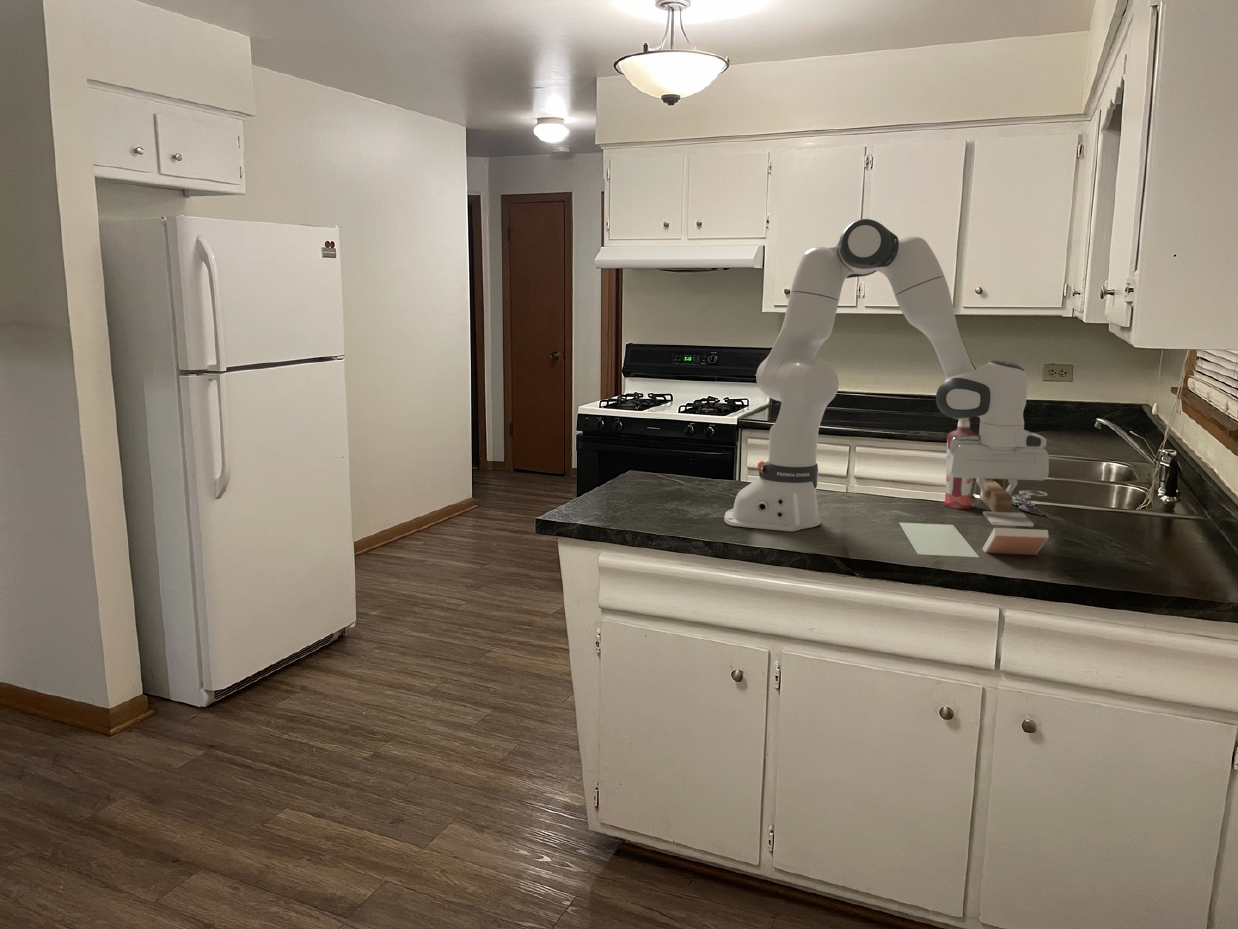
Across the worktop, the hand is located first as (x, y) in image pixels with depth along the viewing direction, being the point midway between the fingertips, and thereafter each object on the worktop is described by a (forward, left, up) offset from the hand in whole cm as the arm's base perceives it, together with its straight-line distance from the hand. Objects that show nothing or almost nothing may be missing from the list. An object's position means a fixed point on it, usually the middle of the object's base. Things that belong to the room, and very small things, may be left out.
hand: (995, 498), depth 197 cm
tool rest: (-13, -6, -9) cm, 17 cm away
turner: (0, -4, -2) cm, 4 cm away
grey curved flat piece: (+18, +38, -10) cm, 43 cm away
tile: (0, -14, -9) cm, 16 cm away
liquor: (-2, +27, -9) cm, 28 cm away
